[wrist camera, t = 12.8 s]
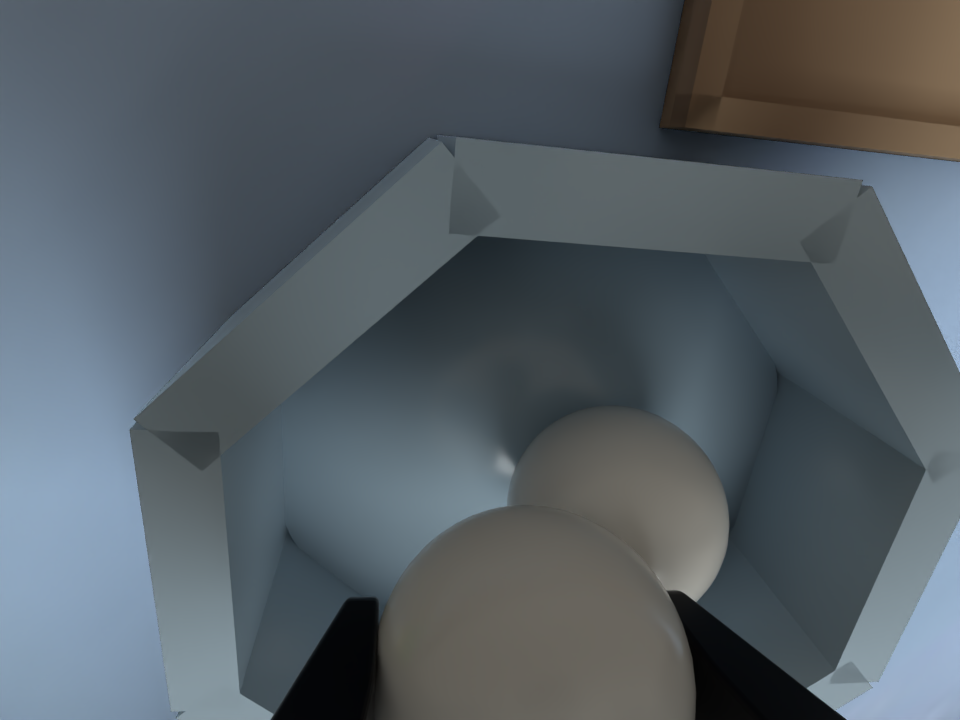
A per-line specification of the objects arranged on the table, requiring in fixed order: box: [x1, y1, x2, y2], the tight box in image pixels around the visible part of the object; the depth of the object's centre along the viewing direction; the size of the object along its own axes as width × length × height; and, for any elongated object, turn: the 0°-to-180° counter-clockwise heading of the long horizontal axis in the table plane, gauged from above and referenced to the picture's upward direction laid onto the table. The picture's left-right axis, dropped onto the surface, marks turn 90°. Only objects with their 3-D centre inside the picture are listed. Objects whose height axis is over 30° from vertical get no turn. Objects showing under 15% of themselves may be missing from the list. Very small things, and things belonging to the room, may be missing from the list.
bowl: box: [130, 135, 960, 720], centre depth 10 cm, size 12×12×4 cm
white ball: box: [507, 405, 730, 602], centre depth 10 cm, size 4×4×4 cm
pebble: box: [374, 505, 696, 720], centre depth 7 cm, size 4×4×4 cm
